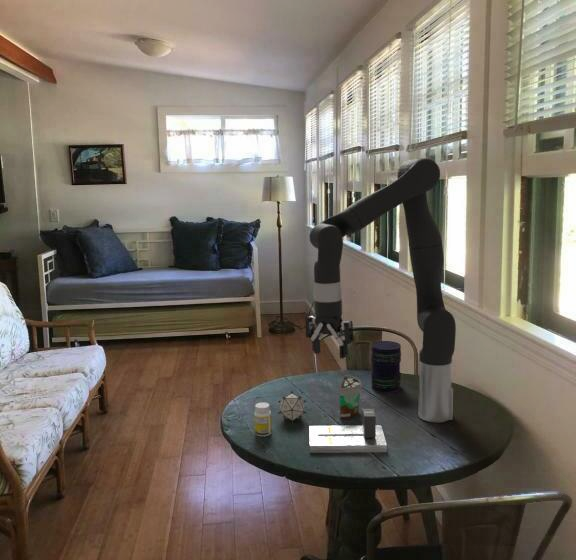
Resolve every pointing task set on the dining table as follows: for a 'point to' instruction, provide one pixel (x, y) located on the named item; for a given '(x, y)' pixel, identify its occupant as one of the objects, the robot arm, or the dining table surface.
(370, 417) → the fader knob
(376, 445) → the console board
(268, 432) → the supplement bottle
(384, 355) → the storage jar
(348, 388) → the food container
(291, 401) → the game die
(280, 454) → the dining table surface
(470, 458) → the dining table surface
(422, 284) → the robot arm
